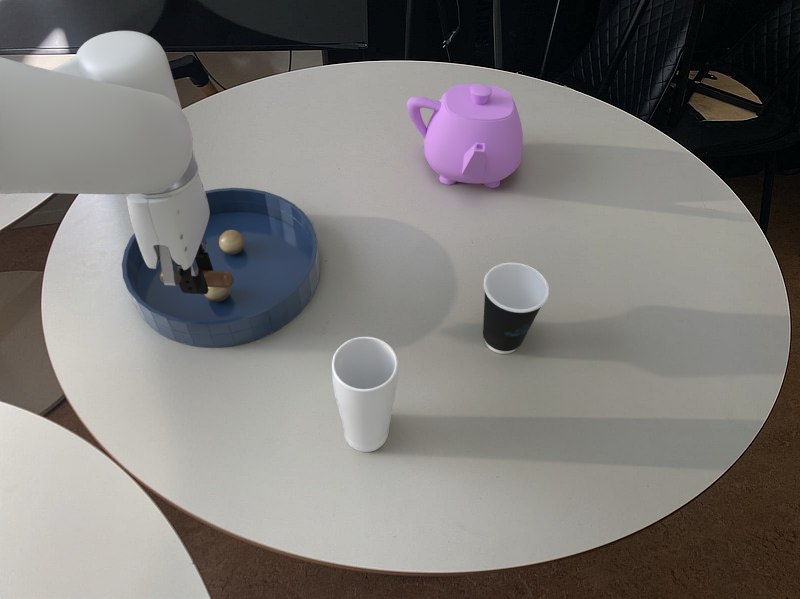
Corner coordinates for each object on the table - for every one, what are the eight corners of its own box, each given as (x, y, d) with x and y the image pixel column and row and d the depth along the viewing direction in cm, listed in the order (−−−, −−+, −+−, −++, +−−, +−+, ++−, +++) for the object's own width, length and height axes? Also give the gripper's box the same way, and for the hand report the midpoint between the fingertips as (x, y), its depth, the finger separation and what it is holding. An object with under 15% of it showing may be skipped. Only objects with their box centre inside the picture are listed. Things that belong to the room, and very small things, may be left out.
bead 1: (229, 308, 82) (224, 290, 79) (203, 306, 82) (197, 289, 79) (235, 288, 84) (230, 270, 81) (209, 286, 84) (204, 269, 81)
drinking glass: (402, 417, 73) (407, 345, 61) (384, 467, 68) (386, 400, 57) (349, 401, 74) (345, 327, 62) (329, 449, 70) (320, 380, 58)
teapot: (398, 207, 97) (401, 127, 86) (407, 135, 110) (411, 57, 98) (520, 217, 96) (540, 138, 85) (515, 143, 109) (531, 65, 98)
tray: (305, 353, 78) (301, 330, 74) (105, 341, 78) (91, 318, 75) (330, 217, 95) (328, 192, 91) (165, 207, 95) (156, 183, 91)
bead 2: (243, 260, 88) (239, 242, 85) (219, 259, 88) (214, 241, 85) (248, 243, 90) (244, 225, 87) (224, 241, 90) (220, 223, 87)
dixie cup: (515, 374, 77) (532, 321, 69) (461, 345, 80) (471, 292, 71) (540, 333, 82) (560, 279, 73) (489, 307, 84) (501, 252, 76)
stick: (233, 291, 74) (230, 280, 72) (160, 287, 74) (155, 276, 72) (236, 279, 75) (233, 268, 73) (165, 275, 75) (160, 264, 73)
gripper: (144, 115, 65) (186, 236, 79) (89, 214, 55) (148, 333, 69) (213, 119, 65) (242, 240, 79) (171, 219, 55) (213, 337, 69)
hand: (198, 282), depth 74 cm, fingers closed on stick, 2 cm apart
